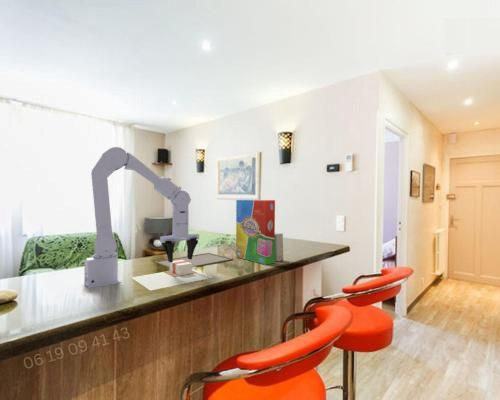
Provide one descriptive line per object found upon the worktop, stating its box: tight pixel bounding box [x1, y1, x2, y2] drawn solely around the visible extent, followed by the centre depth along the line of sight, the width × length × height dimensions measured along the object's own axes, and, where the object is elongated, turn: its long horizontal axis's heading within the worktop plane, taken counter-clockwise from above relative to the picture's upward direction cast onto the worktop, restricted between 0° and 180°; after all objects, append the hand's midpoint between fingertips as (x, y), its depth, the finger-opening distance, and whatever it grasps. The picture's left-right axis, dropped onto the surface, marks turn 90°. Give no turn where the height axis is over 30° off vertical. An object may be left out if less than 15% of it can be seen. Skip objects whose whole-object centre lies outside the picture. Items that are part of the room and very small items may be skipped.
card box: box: [169, 260, 193, 276], centre depth 103 cm, size 8×5×4 cm, turn 38°
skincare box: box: [275, 232, 284, 262], centre depth 126 cm, size 6×4×12 cm
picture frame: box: [154, 252, 234, 268], centre depth 124 cm, size 19×1×28 cm
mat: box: [130, 268, 214, 291], centre depth 97 cm, size 22×18×1 cm
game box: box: [235, 199, 276, 266], centre depth 126 cm, size 21×6×27 cm, turn 41°
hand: (180, 260), depth 103 cm, fingers open, 7 cm apart
